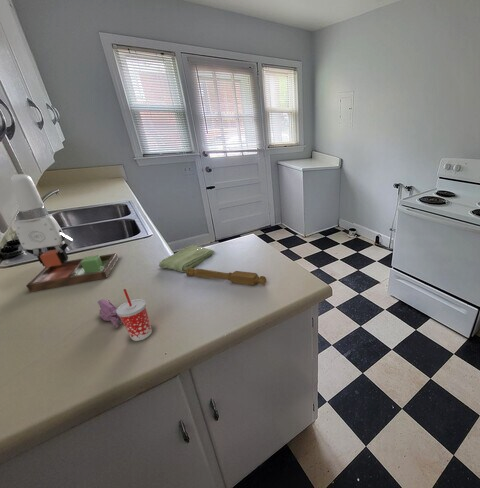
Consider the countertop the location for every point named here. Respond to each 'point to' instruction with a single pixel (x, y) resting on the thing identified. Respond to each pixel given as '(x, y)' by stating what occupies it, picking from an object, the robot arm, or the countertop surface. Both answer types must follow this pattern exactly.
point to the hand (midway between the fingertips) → (55, 262)
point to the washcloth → (186, 258)
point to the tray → (70, 274)
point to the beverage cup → (135, 318)
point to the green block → (92, 263)
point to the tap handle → (228, 276)
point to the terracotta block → (50, 258)
